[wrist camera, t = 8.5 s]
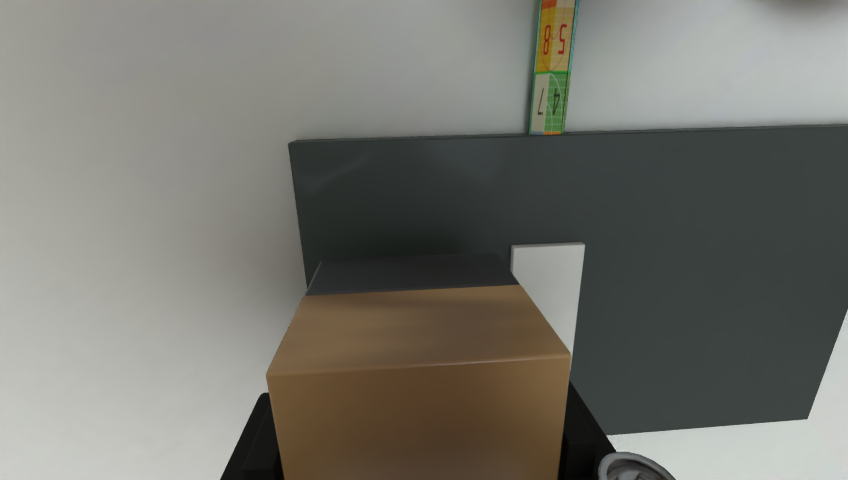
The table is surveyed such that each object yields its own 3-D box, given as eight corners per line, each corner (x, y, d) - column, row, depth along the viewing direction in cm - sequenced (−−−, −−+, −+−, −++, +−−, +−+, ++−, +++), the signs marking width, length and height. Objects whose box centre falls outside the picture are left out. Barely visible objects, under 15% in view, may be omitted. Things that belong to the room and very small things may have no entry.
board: (332, 437, 16) (329, 458, 15) (295, 140, 12) (287, 142, 11) (785, 402, 17) (808, 419, 17) (880, 122, 14) (916, 123, 13)
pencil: (556, -310, 10) (504, 330, 15) (577, -362, 9) (513, 346, 14) (607, -306, 10) (536, 329, 15) (633, -356, 9) (547, 345, 14)
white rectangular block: (504, 371, 15) (506, 376, 14) (511, 244, 13) (513, 248, 13) (567, 367, 15) (570, 372, 14) (581, 241, 13) (585, 244, 13)
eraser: (344, 471, 12) (317, 671, 8) (320, 258, 10) (263, 373, 6) (489, 459, 12) (539, 646, 8) (497, 250, 10) (573, 353, 6)
